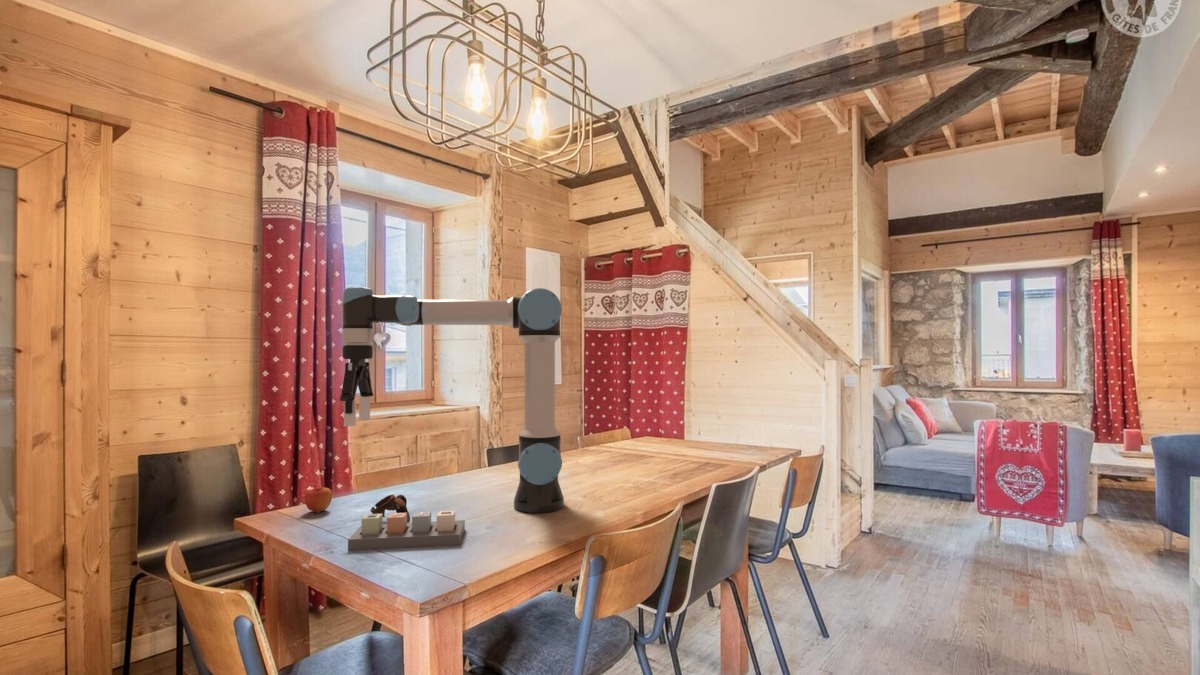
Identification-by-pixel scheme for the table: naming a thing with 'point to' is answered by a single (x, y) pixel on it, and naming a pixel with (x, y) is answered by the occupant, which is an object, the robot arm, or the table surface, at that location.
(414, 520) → the slate key
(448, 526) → the cream key
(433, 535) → the keypad board
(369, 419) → the robot arm
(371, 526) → the sage key
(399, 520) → the terracotta key
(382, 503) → the dark brown curved piece
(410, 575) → the table surface
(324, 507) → the apple
